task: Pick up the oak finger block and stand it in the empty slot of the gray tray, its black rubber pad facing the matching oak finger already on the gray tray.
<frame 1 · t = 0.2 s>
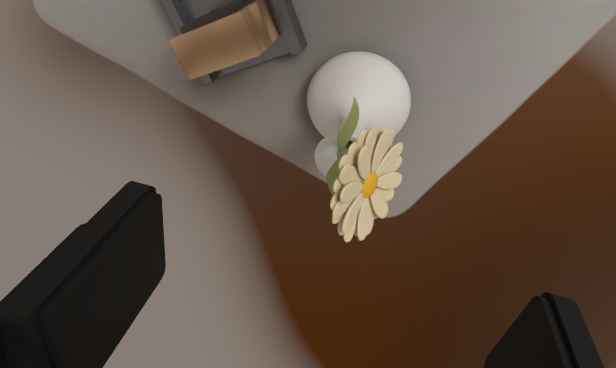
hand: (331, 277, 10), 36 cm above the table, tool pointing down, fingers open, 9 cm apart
flower in vase: (361, 90, 45), on the table
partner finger: (239, 29, 43), resting on gray tray
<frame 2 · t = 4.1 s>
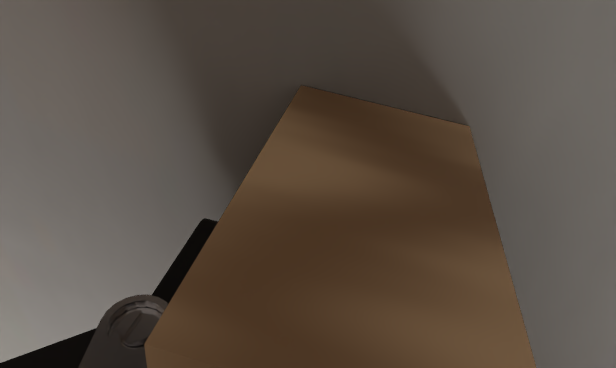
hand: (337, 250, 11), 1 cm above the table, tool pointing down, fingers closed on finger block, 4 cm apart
finger block: (345, 230, 12), on the table, touching gripper
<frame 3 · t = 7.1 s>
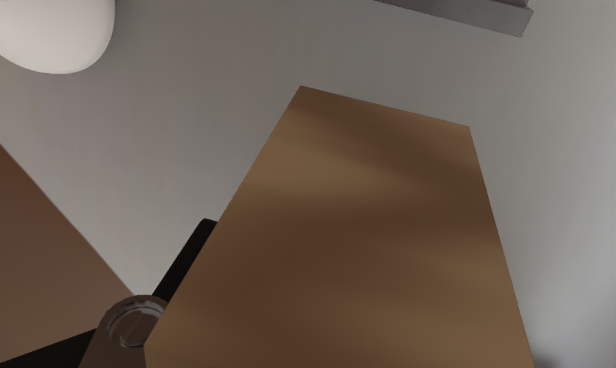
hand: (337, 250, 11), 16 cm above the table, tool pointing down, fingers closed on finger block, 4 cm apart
finger block: (345, 230, 12), point 15 cm above the table, touching gripper
when the fingers open (4 cm above the table, at t = 10.5 s): finger block drops 2 cm, resting on gray tray.
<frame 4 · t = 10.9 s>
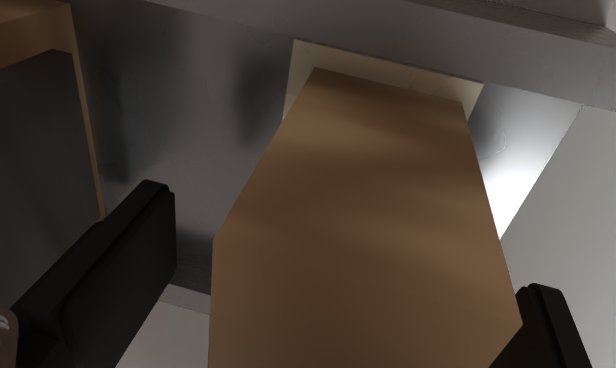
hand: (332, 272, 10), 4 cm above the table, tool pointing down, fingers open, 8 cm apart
gray tray: (214, 142, 14), on the table
finger block: (352, 200, 13), point 1 cm above the table, touching gray tray
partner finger: (36, 113, 14), resting on gray tray
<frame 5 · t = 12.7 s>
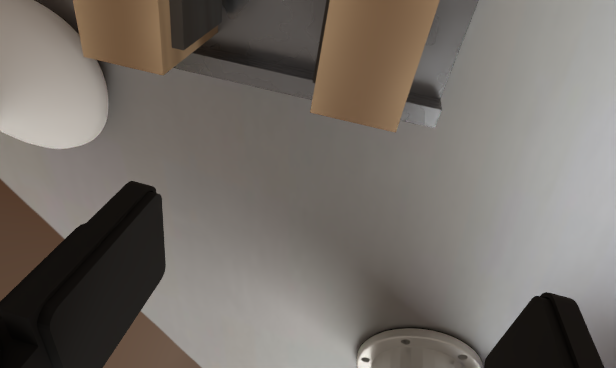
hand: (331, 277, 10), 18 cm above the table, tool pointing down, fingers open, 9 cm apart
flower in vase: (59, 75, 30), on the table
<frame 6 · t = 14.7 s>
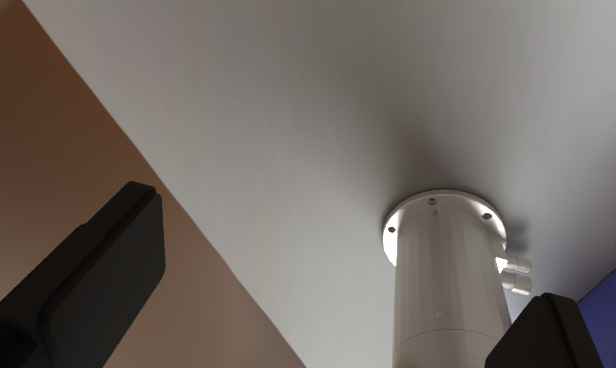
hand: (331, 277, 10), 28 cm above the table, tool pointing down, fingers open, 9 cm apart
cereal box: (595, 309, 46), on the table
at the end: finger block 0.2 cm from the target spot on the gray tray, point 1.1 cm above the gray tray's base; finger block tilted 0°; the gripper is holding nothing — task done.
